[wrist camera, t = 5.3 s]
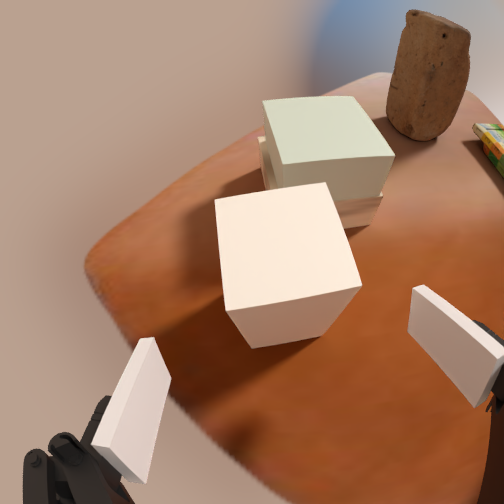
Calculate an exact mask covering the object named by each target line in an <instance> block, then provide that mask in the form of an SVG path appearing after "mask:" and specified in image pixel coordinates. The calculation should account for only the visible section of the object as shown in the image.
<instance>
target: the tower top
mask: <svg viewBox="0 0 504 504" xmlns="http://www.w3.org/2000/svg"><path fill="white" fill-rule="evenodd" d="M262 103H263V114H264V128H265V141H266V144H267V148H268V152H269V155H270V159H271V163H272V167H273V170H274V174H275V178H276V182H277V186H278V189H280V188H287V187H294V186H301V185H308V184H316V183H324V182H326V185H327V187H328V190H329V192H330V195H331V197H332V200H333V201H335V200H343V199H352V198H360V197H369V196H379V195H380V193H381V191H382V188H383V186H384V184H385V181H386V179H387V176H388V174H389V171H390V168H391V166H392V163H393V161H394V158H395V154H394V153H393V151H392V150H391V148H390V146H389V145H388V143H387V142H386V140H385V139H384V138H383V136H382V135H381V133H380V132H379V130H378V129H377V128H376V126H375V125H374V123H373V122H372V121H371V119H370V118H369V117H368V115H367V114H366V113H365V111H364V110H363V109H362V107H361V106H360V105H359V104H358V102H357V101H356V100H355V98H354V97H353V96H320V97H302V98H287V99H277V100H268V101H262Z"/></svg>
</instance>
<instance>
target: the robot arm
mask: <svg viewBox="0 0 504 504" xmlns="http://www.w3.org/2000/svg"><path fill="white" fill-rule="evenodd" d="M407 332H408V333H409V334H410V335H411V336H412V337H413V338H414V339H415V340H416V341H417V342H418V343H419V345H420V346H421V347H422V348H423V349H424V350H425V351H426V352H427V353H428V354H429V356H430V357H431V358H432V359H433V360H434V361H435V362H436V363H437V365H438V366H439V367H440V368H441V369H442V370H443V371H444V372H445V374H446V375H447V376H448V377H449V378H450V379H451V381H452V382H453V383H454V384H455V385H456V387H457V388H458V389H459V390H460V391H461V392H462V394H463V395H464V396H465V397H466V399H467V400H468V401H469V402H470V403H471V405H472V406H473V407H474V408H475V407H477V406H478V405H480V404H481V403H483V402H484V401H486V399H487V397H488V395H489V393H490V391H492V392H493V393H494V395H493V397H492V399H491V401H490V403H489V405H488V406H487V408H486V412H488V410H489V408H490V407H491V405H492V409H491V411H490V412H491V429H490V439H489V448H488V455H487V461H486V467H485V473H484V478H483V482H482V487H481V491H480V495H479V498H478V502H477V504H504V340H503V339H501V338H500V337H499V336H498V335H495V333H494V332H493V331H492V330H490V329H489V328H488V327H487V326H485V325H484V324H483V323H480V322H478V321H475V320H470V319H469V318H468V317H466V316H465V315H464V314H463V313H461V312H460V311H459V310H457V309H456V308H455V307H453V306H452V305H451V304H449V303H448V302H447V301H445V300H444V299H443V298H441V297H440V296H439V295H437V294H436V293H435V292H433V291H432V290H430V289H429V288H428V287H426V286H425V285H420V286H417V287H414V288H412V299H411V308H410V317H409V324H408V331H407ZM171 379H172V378H171V376H170V374H169V372H168V370H167V367H166V365H165V363H164V360H163V358H162V356H161V353H160V351H159V349H158V346H157V344H156V341H155V339H154V337H151V338H140V340H139V342H138V344H137V346H136V348H135V350H134V352H133V354H132V356H131V358H130V360H129V362H128V364H127V366H126V368H125V370H124V372H123V374H122V376H121V378H120V380H119V382H118V384H117V387H116V389H115V391H114V393H113V395H112V396H105V397H104V398H103V399H102V400H101V401H100V402H99V403H98V405H97V407H96V409H95V411H94V414H93V415H92V417H91V421H89V423H88V426H87V428H86V430H85V432H84V435H83V437H82V439H81V441H80V442H79V441H78V440H77V439H76V438H75V437H74V436H73V435H72V434H70V433H67V432H62V433H58V434H57V435H55V436H54V437H53V438H52V439H51V440H50V442H49V445H48V451H49V452H50V453H51V454H52V455H53V456H48V455H47V454H46V453H45V452H44V451H42V450H41V449H33V450H31V451H30V452H28V453H27V454H26V456H25V459H24V466H23V504H135V503H134V501H133V500H132V498H131V497H130V495H129V494H128V492H127V490H126V489H125V487H124V485H123V484H122V483H121V482H120V480H121V476H123V477H124V478H126V479H127V480H128V481H129V482H134V483H141V484H146V482H147V477H148V473H149V468H150V463H151V459H152V454H153V450H154V445H155V442H156V437H157V433H158V429H159V424H160V421H161V417H162V413H163V409H164V405H165V401H166V397H167V393H168V390H169V386H170V382H171Z"/></svg>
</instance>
